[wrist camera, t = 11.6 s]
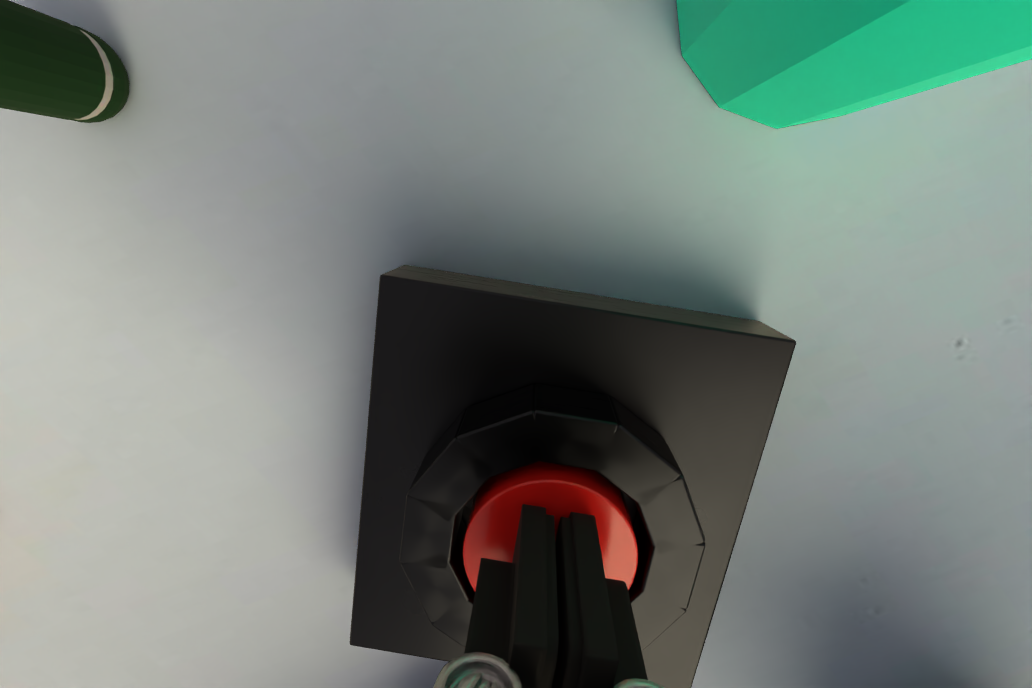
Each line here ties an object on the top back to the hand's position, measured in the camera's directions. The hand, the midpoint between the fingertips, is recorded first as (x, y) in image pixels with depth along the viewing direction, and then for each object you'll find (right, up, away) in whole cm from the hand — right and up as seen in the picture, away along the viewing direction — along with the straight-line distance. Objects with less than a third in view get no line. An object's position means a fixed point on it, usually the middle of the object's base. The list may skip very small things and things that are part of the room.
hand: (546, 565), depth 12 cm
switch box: (0, +1, +4) cm, 4 cm away
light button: (0, +1, +2) cm, 2 cm away
